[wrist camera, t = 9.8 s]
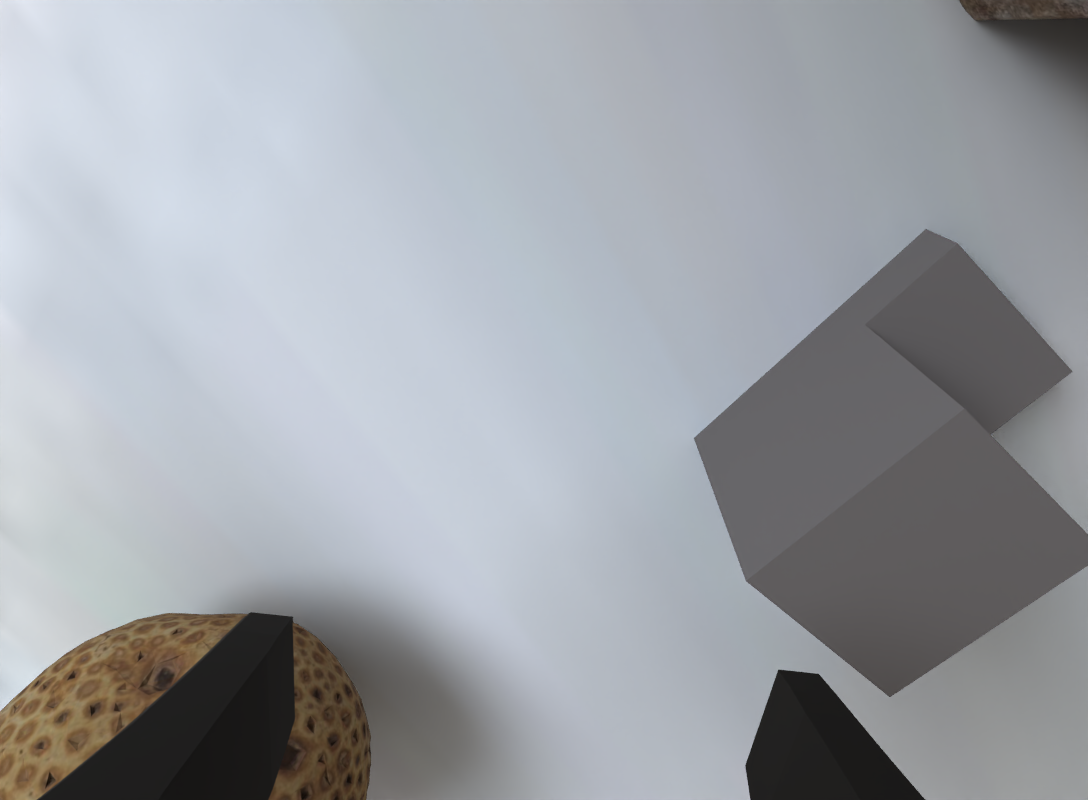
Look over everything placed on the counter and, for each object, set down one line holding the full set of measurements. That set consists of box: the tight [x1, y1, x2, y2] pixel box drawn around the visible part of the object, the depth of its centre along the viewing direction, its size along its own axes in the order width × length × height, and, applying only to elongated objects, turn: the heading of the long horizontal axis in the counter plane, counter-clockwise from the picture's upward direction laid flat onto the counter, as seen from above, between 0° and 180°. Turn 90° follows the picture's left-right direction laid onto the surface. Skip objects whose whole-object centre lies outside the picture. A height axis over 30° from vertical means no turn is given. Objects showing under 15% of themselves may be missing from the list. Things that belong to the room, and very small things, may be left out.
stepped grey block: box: [694, 230, 1088, 697], centre depth 16 cm, size 4×8×6 cm, turn 138°
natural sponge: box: [0, 613, 371, 800], centre depth 18 cm, size 9×9×10 cm
